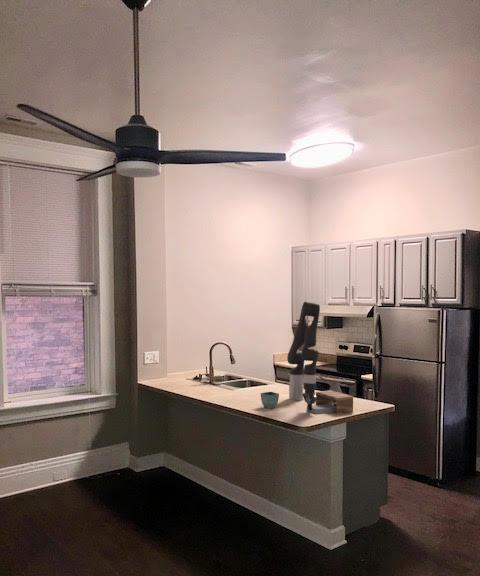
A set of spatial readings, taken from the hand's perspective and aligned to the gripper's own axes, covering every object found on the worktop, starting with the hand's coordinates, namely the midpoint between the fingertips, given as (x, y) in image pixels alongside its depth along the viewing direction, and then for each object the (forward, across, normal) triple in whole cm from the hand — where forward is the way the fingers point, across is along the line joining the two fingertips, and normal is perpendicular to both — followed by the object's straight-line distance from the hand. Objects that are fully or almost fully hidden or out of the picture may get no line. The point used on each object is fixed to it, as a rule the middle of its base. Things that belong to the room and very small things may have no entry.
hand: (309, 410), depth 306 cm
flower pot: (+2, -22, -16) cm, 27 cm away
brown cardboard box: (+1, 0, +19) cm, 19 cm away
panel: (+2, 0, +9) cm, 9 cm away
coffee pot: (+1, -25, +34) cm, 43 cm away
